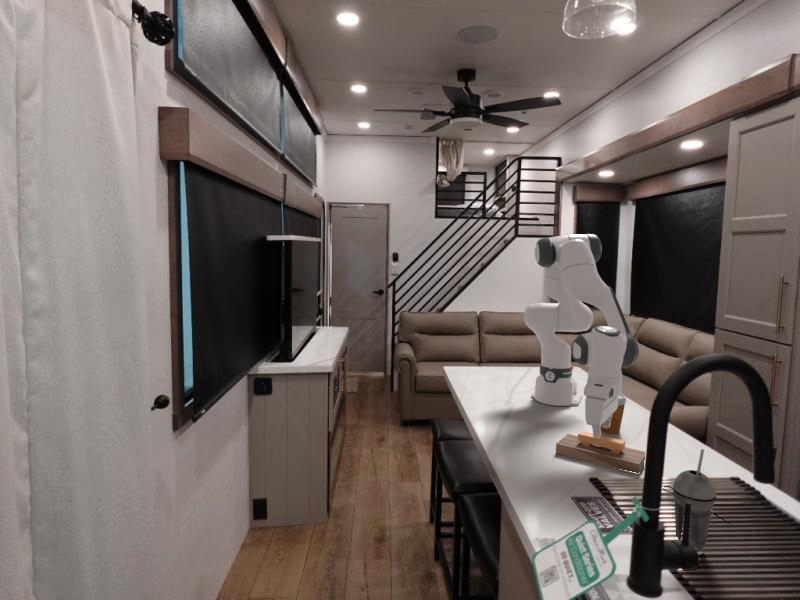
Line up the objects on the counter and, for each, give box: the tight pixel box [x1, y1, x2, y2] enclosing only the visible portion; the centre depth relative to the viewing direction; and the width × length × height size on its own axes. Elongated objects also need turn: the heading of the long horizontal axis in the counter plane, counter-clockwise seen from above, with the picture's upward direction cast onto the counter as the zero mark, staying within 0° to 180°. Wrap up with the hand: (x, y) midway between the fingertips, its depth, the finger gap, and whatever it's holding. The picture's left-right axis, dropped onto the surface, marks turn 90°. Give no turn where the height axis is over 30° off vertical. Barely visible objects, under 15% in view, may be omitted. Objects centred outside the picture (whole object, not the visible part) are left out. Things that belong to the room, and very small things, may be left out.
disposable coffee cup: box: [601, 393, 628, 435], centre depth 159 cm, size 10×10×12 cm
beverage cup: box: [671, 448, 717, 551], centre depth 93 cm, size 7×7×20 cm
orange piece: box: [577, 430, 626, 454], centre depth 137 cm, size 3×12×6 cm, turn 52°
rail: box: [555, 433, 646, 473], centre depth 137 cm, size 10×22×3 cm, turn 52°
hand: (601, 432), depth 137 cm, fingers open, 8 cm apart
